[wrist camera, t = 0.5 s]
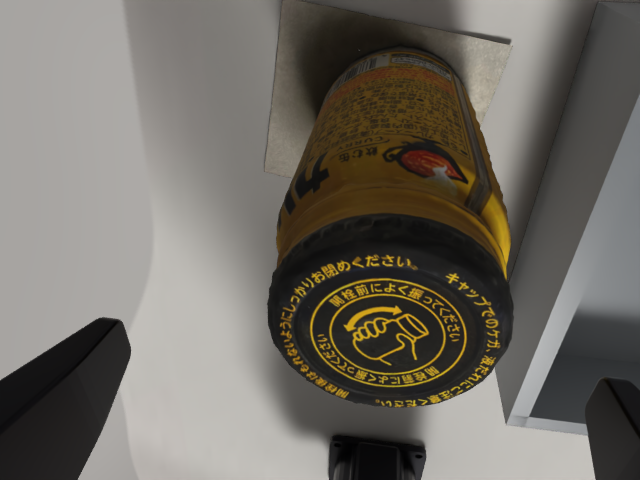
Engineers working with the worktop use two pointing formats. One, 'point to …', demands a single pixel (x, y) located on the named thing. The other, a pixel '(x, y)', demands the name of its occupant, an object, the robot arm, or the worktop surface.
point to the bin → (582, 242)
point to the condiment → (386, 208)
